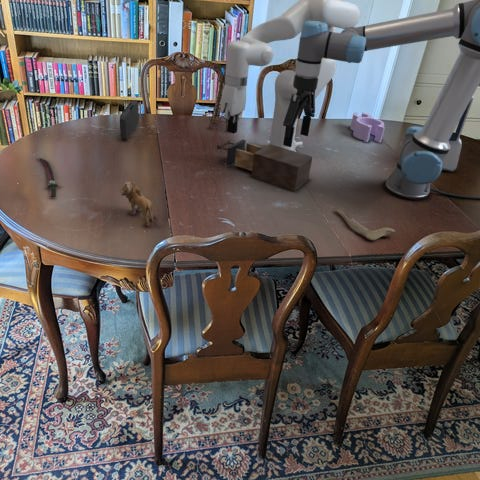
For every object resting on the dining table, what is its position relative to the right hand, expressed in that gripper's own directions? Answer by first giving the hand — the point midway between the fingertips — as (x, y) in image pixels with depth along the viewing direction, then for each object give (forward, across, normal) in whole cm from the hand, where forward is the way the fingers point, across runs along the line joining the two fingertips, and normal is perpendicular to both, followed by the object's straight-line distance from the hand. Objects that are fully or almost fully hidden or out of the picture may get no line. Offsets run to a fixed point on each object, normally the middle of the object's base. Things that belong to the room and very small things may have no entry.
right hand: (295, 140), depth 157 cm
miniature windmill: (+15, -30, -48) cm, 59 cm away
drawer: (+14, 0, -18) cm, 23 cm away
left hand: (+4, 0, -25) cm, 25 cm away
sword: (+15, +52, -63) cm, 83 cm away
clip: (+15, -70, +5) cm, 72 cm away
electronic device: (+15, -54, +42) cm, 70 cm away
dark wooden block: (+15, 0, -4) cm, 16 cm away
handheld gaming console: (+15, +2, -72) cm, 74 cm away
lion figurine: (+15, +52, -24) cm, 59 cm away
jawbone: (+15, +12, +32) cm, 37 cm away
